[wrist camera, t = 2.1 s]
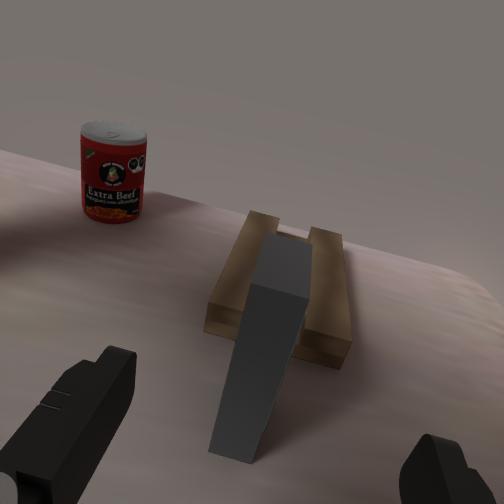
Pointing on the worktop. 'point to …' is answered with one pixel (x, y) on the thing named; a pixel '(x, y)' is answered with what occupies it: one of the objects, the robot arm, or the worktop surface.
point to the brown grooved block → (321, 292)
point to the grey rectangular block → (263, 345)
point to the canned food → (112, 171)
